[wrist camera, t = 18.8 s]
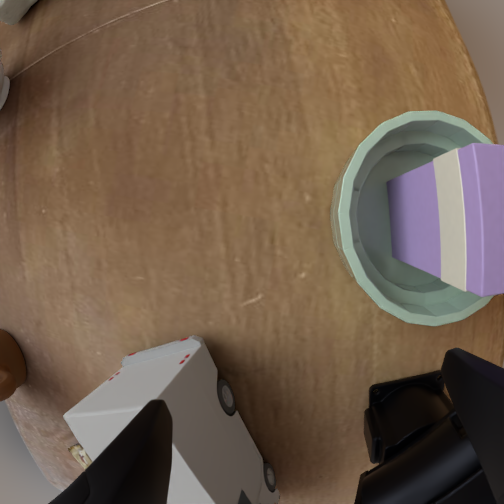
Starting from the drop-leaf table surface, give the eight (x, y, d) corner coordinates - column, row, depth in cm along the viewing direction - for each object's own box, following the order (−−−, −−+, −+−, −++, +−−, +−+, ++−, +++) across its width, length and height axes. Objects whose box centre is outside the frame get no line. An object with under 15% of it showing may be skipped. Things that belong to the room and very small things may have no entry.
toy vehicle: (208, 494, 26) (179, 562, 16) (123, 352, 25) (50, 405, 15) (288, 484, 24) (278, 564, 14) (211, 326, 23) (154, 390, 13)
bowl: (465, 131, 19) (501, 112, 13) (484, 287, 20) (522, 303, 14) (316, 142, 21) (320, 118, 15) (340, 314, 22) (351, 342, 16)
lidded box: (442, 253, 20) (552, 285, 8) (391, 258, 20) (480, 300, 8) (437, 179, 19) (545, 148, 7) (385, 180, 20) (470, 140, 8)
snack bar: (133, 498, 27) (117, 505, 26) (135, 491, 28) (119, 498, 28) (78, 443, 27) (63, 451, 26) (82, 437, 28) (67, 446, 28)
